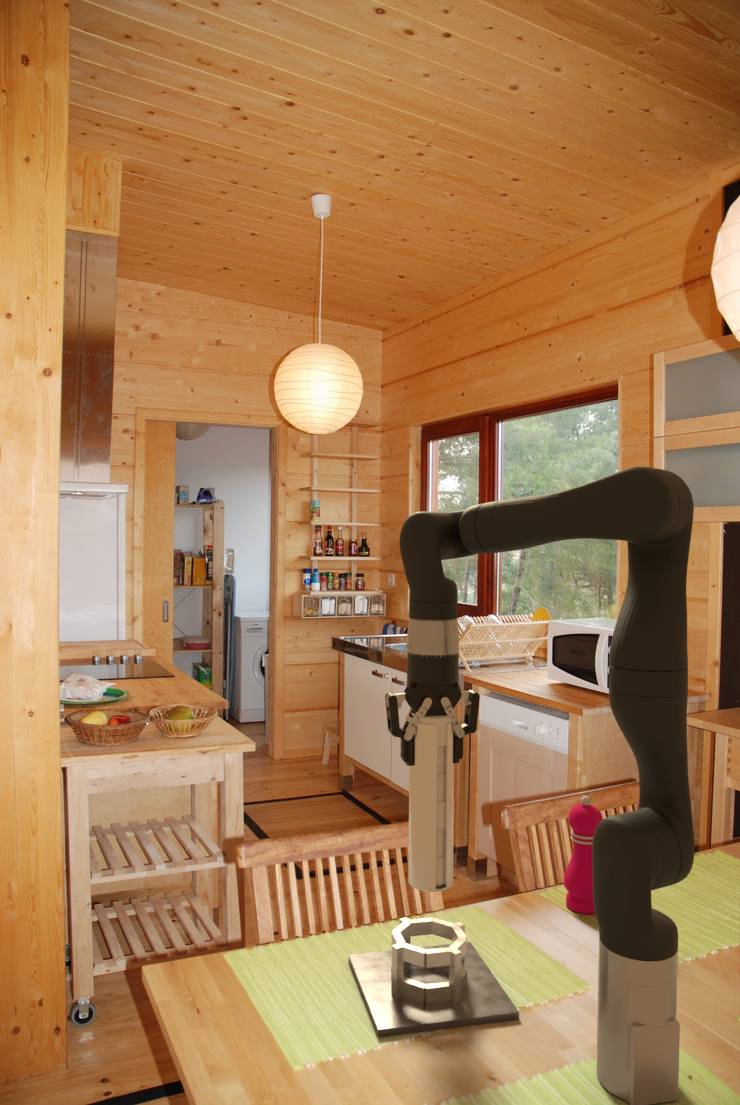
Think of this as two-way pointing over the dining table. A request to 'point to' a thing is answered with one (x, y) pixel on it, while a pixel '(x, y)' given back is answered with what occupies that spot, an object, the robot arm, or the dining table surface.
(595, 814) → the pepper mill
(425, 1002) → the collar stand
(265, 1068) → the dining table surface
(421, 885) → the cream peg
